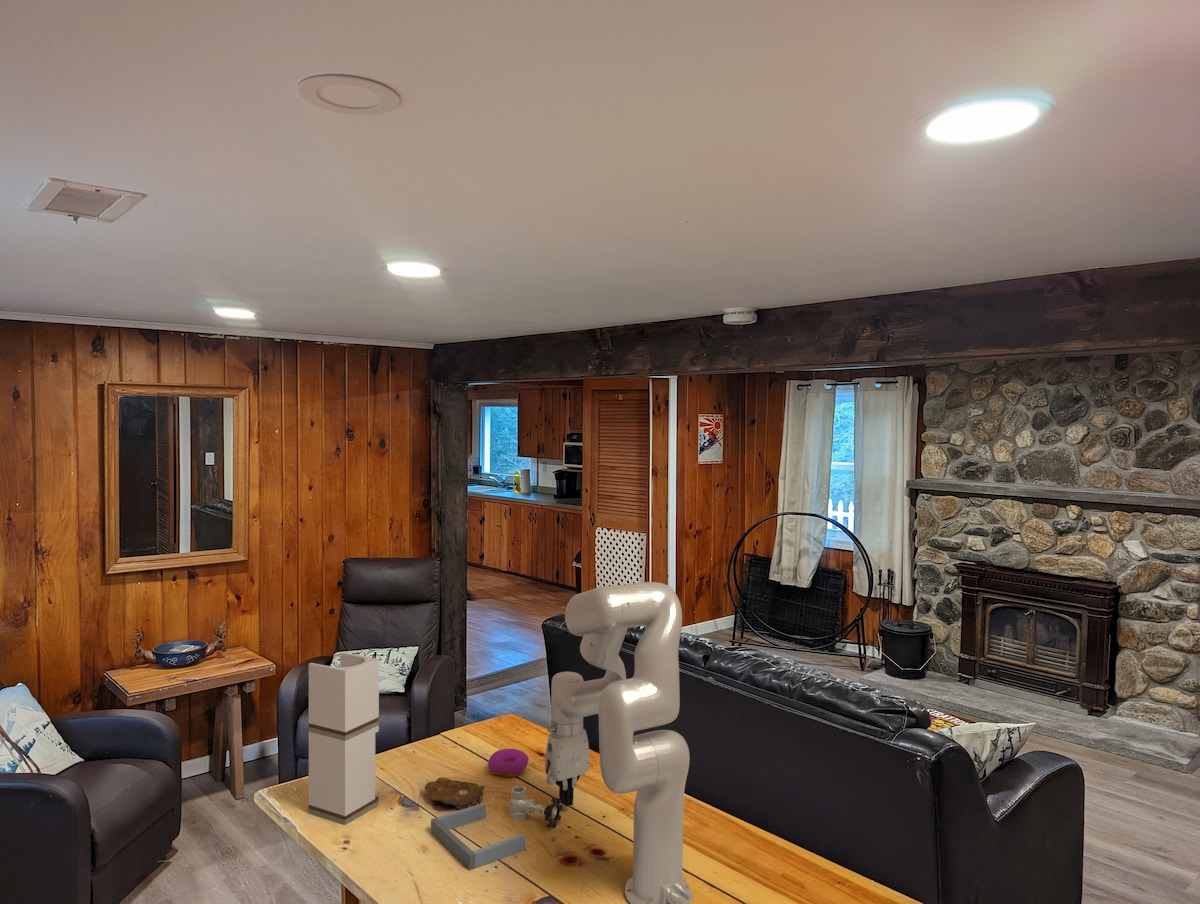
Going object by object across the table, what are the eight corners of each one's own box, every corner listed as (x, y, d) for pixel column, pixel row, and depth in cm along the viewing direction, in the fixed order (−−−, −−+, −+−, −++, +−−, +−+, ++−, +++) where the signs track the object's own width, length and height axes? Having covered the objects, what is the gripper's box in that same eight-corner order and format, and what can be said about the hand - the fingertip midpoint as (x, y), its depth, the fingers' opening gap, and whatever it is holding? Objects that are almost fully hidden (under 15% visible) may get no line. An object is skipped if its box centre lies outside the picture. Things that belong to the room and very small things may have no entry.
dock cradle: (525, 849, 168) (525, 836, 167) (469, 870, 160) (470, 855, 159) (483, 815, 182) (483, 802, 182) (430, 832, 174) (430, 819, 174)
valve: (503, 821, 180) (548, 834, 174) (503, 793, 180) (548, 805, 174) (519, 809, 186) (563, 821, 180) (519, 781, 185) (563, 792, 180)
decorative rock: (412, 807, 187) (469, 819, 183) (412, 791, 187) (469, 802, 182) (435, 784, 198) (489, 794, 194) (435, 768, 198) (490, 778, 193)
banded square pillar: (378, 805, 187) (378, 659, 186) (345, 825, 177) (345, 671, 176) (343, 794, 192) (343, 652, 191) (308, 813, 182) (308, 663, 181)
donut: (482, 776, 203) (482, 759, 203) (497, 760, 213) (497, 744, 213) (520, 781, 200) (520, 763, 200) (533, 765, 210) (533, 748, 210)
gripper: (549, 739, 177) (548, 819, 178) (602, 724, 186) (601, 801, 187) (531, 728, 183) (530, 806, 183) (583, 715, 192) (582, 789, 192)
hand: (566, 803), depth 185 cm, fingers closed
